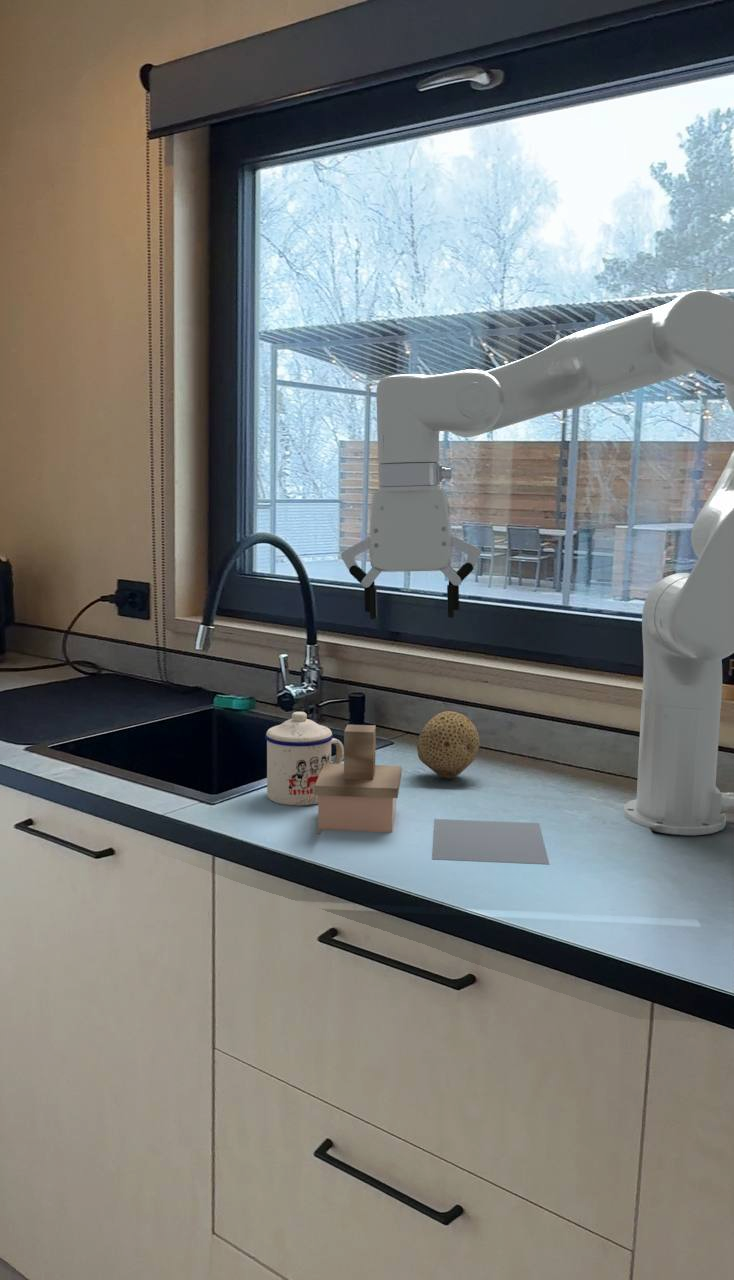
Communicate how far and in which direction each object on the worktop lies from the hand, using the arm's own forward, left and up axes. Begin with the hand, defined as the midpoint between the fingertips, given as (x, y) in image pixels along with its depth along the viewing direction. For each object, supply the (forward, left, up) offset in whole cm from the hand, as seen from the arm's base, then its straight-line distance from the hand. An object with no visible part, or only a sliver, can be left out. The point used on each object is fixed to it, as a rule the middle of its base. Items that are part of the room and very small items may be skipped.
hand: (412, 617), depth 128 cm
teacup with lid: (+14, -7, -26) cm, 30 cm away
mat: (-10, +10, -26) cm, 29 cm away
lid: (+6, +4, -21) cm, 22 cm away
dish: (+6, +4, -26) cm, 27 cm away
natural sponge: (-5, -17, -26) cm, 31 cm away
